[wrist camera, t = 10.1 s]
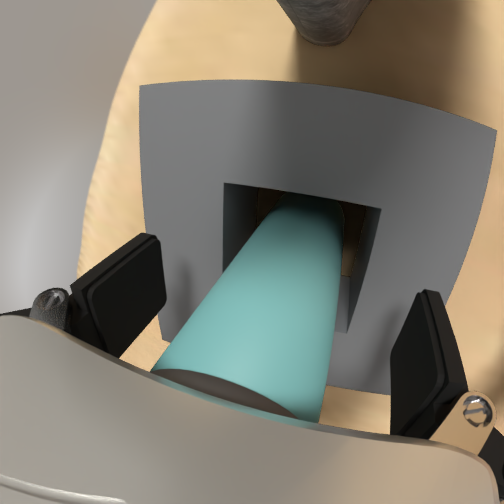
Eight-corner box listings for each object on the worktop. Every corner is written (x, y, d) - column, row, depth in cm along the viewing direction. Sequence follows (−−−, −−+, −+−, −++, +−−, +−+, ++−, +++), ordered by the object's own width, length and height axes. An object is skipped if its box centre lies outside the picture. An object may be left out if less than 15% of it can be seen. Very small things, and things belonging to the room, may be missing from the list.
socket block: (391, 337, 18) (394, 395, 14) (197, 295, 21) (162, 339, 17) (454, 122, 11) (496, 130, 7) (194, 87, 15) (139, 85, 10)
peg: (338, 260, 17) (282, 522, 5) (269, 246, 18) (135, 470, 6) (351, 192, 15) (325, 483, 3) (275, 179, 16) (77, 390, 4)
